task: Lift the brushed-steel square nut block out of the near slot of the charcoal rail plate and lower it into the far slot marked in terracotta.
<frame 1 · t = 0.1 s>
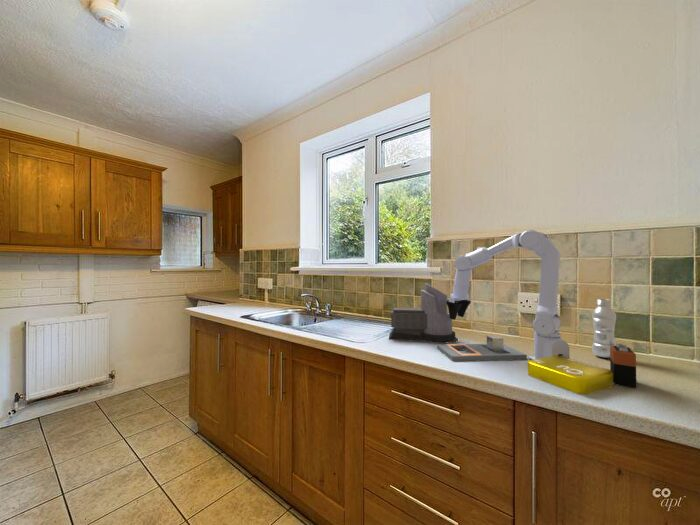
hand: (456, 317, 115), 11 cm above the worktop, tool pointing down, fingers open, 7 cm apart
nut block: (495, 353, 102), resting in rail plate
plastic bottle: (604, 357, 97), on the worktop
battery: (622, 383, 76), on the worktop
juicer: (423, 338, 125), on the worktop
element tile: (568, 381, 78), on the worktop
rail plate: (479, 353, 102), on the worktop
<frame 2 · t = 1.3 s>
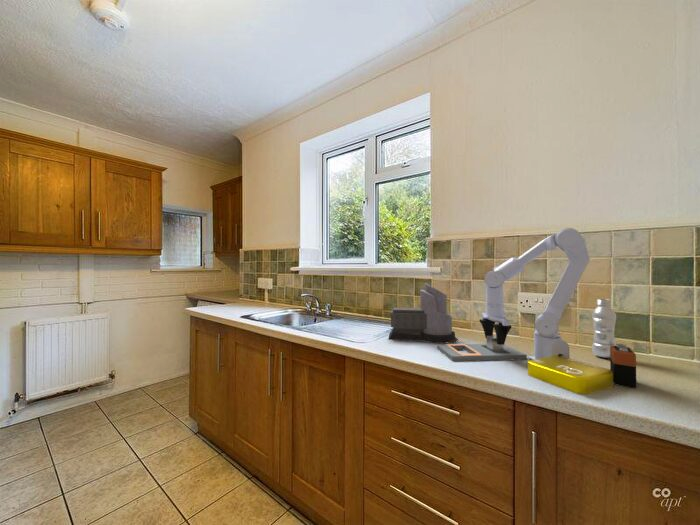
hand: (494, 341, 102), 4 cm above the worktop, tool pointing down, fingers open, 7 cm apart
nothing on the worktop moved.
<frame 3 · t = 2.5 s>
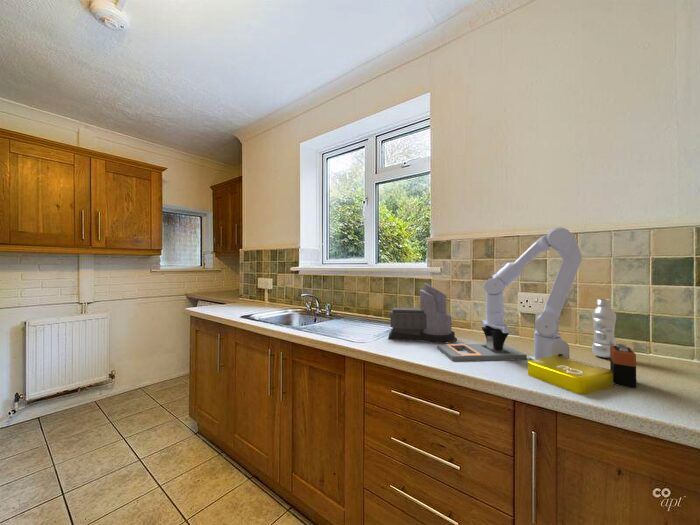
hand: (495, 348, 102), 2 cm above the worktop, tool pointing down, fingers closed on nut block, 4 cm apart
nut block: (495, 353, 102), resting in rail plate, touching gripper
everything else where it was.
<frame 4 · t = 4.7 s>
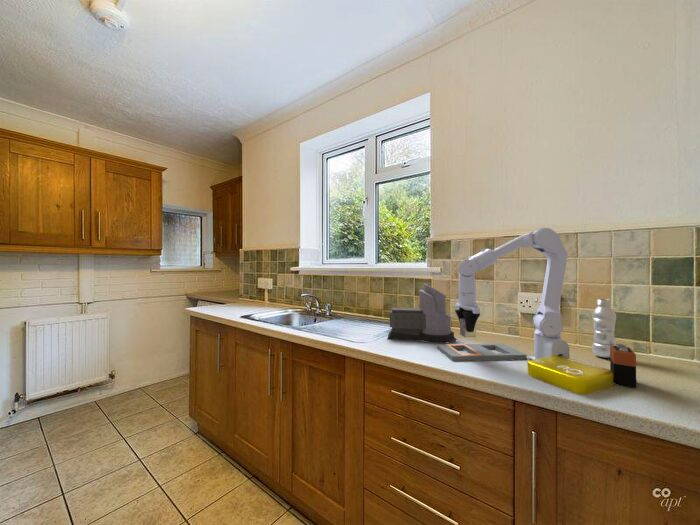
hand: (467, 330, 102), 8 cm above the worktop, tool pointing down, fingers closed on nut block, 4 cm apart
nut block: (467, 335, 102), point 7 cm above the worktop, touching gripper
everything else where it was.
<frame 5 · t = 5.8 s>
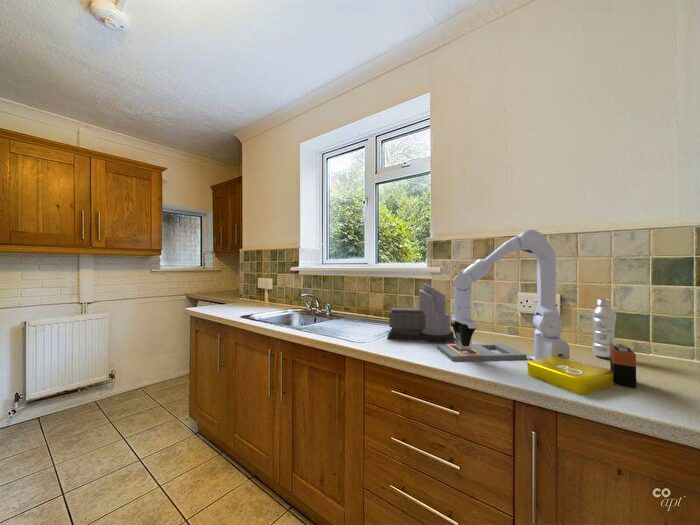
hand: (462, 344, 101), 4 cm above the worktop, tool pointing down, fingers closed on nut block, 4 cm apart
nut block: (463, 349, 101), point 2 cm above the worktop, touching gripper
everything else where it was.
when the fingers open (2 cm above the worktop, at t = 6.9 s): nut block stays where it is, resting in rail plate.
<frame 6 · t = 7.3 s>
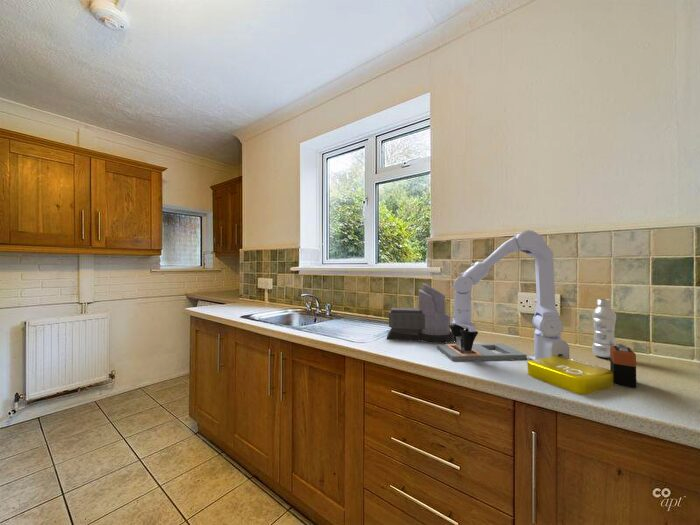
hand: (462, 347, 101), 2 cm above the worktop, tool pointing down, fingers open, 7 cm apart
nut block: (463, 354, 101), resting in rail plate
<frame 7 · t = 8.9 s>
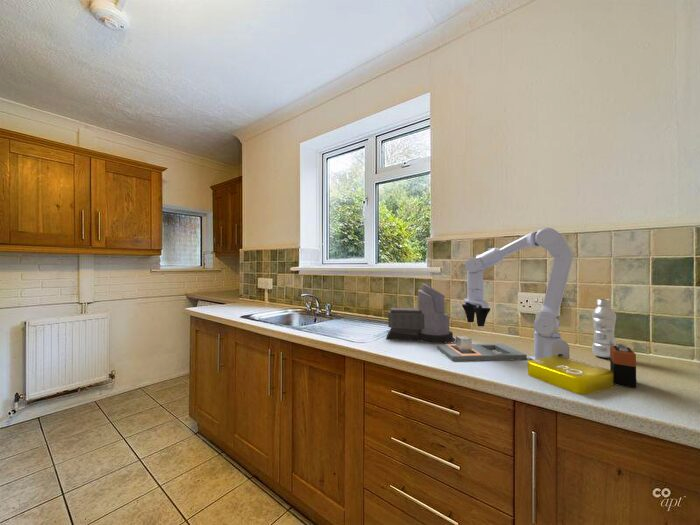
hand: (475, 324, 108), 9 cm above the worktop, tool pointing down, fingers open, 7 cm apart
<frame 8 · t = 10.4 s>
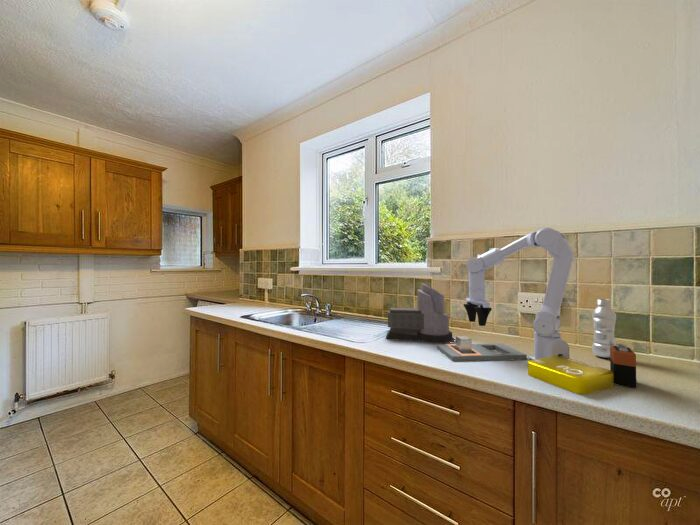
hand: (477, 323, 109), 9 cm above the worktop, tool pointing down, fingers open, 7 cm apart
at the end: nut block 0.3 cm from the target spot on the rail plate, point 0.0 cm above the rail plate's base; nut block tilted 0°; the gripper is holding nothing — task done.
